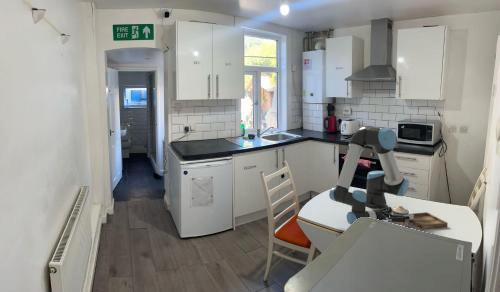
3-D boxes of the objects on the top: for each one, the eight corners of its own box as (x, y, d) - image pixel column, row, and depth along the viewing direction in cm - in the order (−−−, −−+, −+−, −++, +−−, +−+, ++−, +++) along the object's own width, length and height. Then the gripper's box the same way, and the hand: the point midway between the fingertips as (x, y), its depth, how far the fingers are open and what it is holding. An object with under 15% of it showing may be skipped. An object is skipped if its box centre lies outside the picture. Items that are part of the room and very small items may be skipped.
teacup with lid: (406, 229, 201) (408, 210, 199) (389, 226, 205) (391, 207, 203) (409, 222, 211) (410, 203, 209) (393, 219, 216) (394, 201, 213)
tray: (402, 218, 217) (403, 214, 216) (426, 215, 220) (427, 212, 220) (421, 229, 201) (422, 225, 200) (447, 226, 204) (447, 222, 204)
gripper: (362, 215, 214) (394, 212, 219) (384, 230, 193) (419, 226, 198) (363, 203, 213) (395, 200, 218) (385, 217, 191) (420, 214, 196)
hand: (407, 213), depth 208 cm, fingers closed on teacup with lid, 10 cm apart
